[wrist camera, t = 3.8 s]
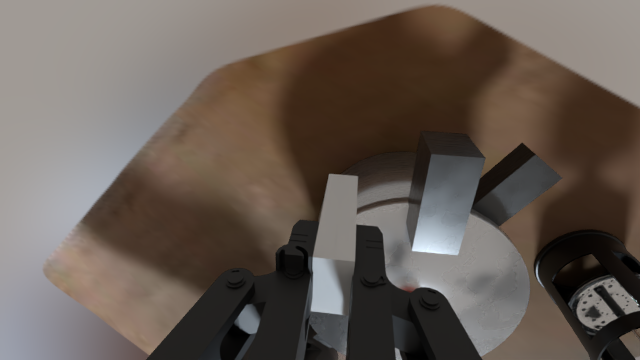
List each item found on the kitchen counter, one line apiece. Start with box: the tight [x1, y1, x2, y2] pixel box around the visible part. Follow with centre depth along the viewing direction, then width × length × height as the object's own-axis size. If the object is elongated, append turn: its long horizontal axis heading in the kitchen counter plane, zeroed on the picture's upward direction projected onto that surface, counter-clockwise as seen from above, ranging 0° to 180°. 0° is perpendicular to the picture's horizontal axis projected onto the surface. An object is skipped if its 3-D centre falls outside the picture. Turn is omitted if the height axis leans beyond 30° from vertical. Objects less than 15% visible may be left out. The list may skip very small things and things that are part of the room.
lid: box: [310, 131, 530, 360], centre depth 27 cm, size 24×19×5 cm
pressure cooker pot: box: [313, 143, 562, 348], centre depth 35 cm, size 28×18×10 cm, turn 143°
